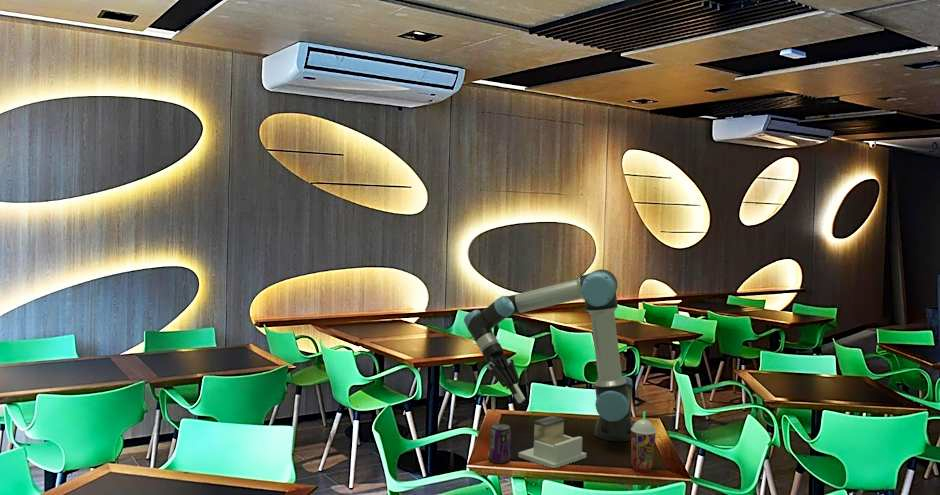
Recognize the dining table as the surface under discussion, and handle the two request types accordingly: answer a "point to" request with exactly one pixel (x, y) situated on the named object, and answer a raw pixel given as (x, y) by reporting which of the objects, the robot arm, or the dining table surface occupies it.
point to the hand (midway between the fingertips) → (521, 401)
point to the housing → (555, 452)
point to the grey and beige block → (549, 430)
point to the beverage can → (500, 443)
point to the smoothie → (642, 444)
